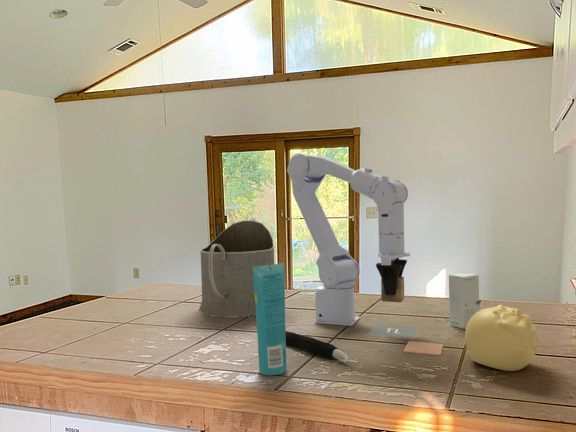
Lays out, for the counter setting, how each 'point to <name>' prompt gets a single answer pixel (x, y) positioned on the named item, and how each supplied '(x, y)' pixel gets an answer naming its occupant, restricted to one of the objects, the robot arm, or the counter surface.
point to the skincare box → (463, 298)
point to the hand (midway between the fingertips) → (392, 292)
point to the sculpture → (501, 338)
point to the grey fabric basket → (234, 269)
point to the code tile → (393, 331)
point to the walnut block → (399, 292)
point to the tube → (270, 317)
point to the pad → (423, 348)
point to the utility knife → (314, 346)
